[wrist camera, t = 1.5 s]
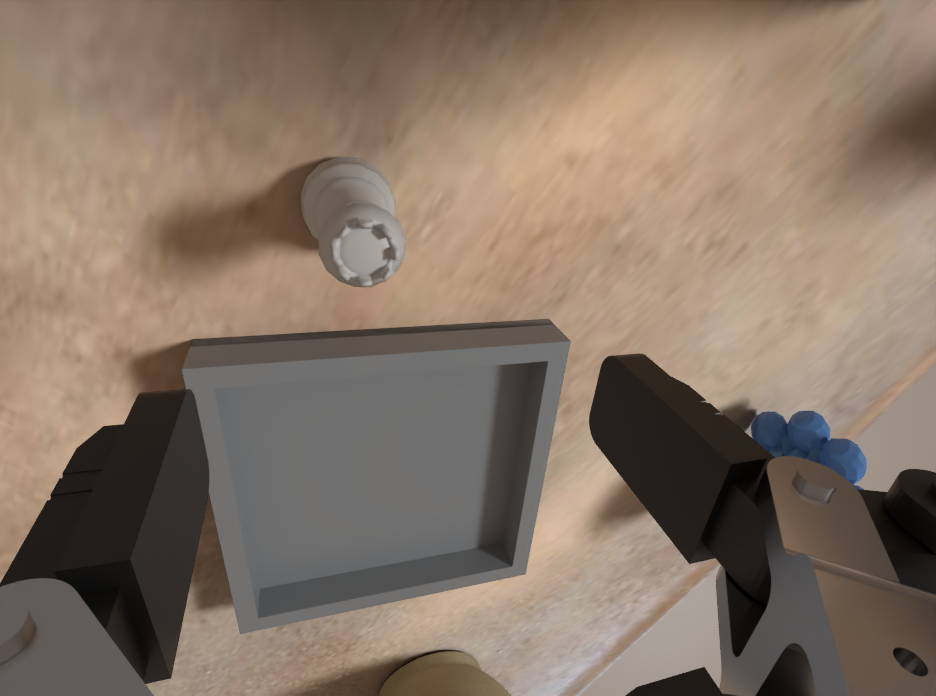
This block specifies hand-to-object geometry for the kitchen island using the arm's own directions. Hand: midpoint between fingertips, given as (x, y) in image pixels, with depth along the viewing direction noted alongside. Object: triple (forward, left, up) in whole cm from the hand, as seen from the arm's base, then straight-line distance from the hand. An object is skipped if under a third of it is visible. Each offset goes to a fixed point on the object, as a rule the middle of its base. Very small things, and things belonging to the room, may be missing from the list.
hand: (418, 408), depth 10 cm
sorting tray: (-2, +17, -18) cm, 25 cm away
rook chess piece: (0, 0, -18) cm, 18 cm away
